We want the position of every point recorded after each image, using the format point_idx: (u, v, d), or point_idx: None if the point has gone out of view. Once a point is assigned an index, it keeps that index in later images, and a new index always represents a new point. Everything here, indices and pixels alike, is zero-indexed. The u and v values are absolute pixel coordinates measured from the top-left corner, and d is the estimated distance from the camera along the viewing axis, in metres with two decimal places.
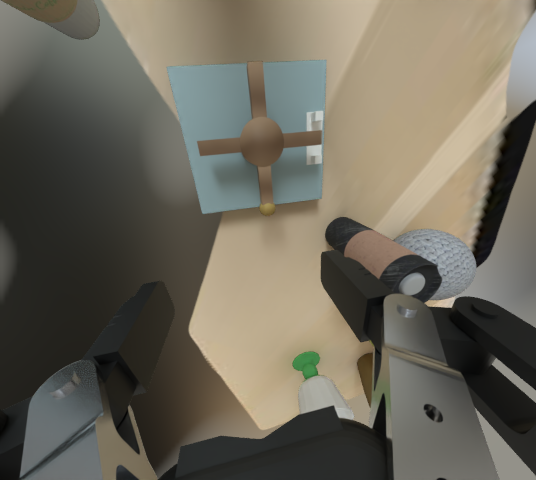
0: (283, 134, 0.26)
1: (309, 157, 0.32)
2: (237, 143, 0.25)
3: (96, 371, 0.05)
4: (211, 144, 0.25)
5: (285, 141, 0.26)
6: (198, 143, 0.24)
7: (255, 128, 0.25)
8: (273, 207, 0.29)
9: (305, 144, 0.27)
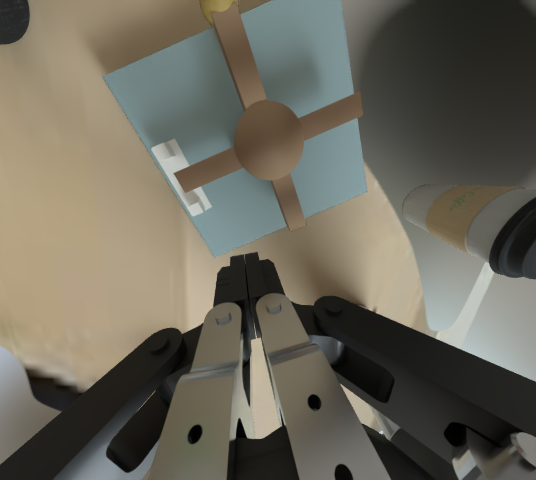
0: (241, 166, 0.16)
1: (176, 152, 0.19)
2: (306, 129, 0.16)
3: (241, 319, 0.06)
4: (343, 116, 0.16)
5: (234, 158, 0.16)
6: (361, 112, 0.16)
7: (284, 160, 0.17)
8: None
9: (200, 164, 0.16)
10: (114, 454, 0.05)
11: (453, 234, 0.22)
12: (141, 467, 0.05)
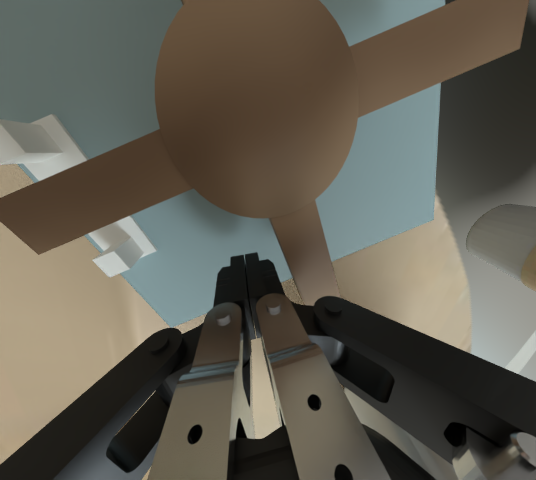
0: (188, 186, 0.06)
1: (63, 145, 0.09)
2: (368, 85, 0.06)
3: (241, 319, 0.06)
4: (470, 49, 0.06)
5: (164, 162, 0.06)
6: (517, 38, 0.06)
7: (303, 168, 0.06)
8: None
9: (63, 180, 0.05)
10: (114, 454, 0.05)
11: None
12: (141, 467, 0.05)
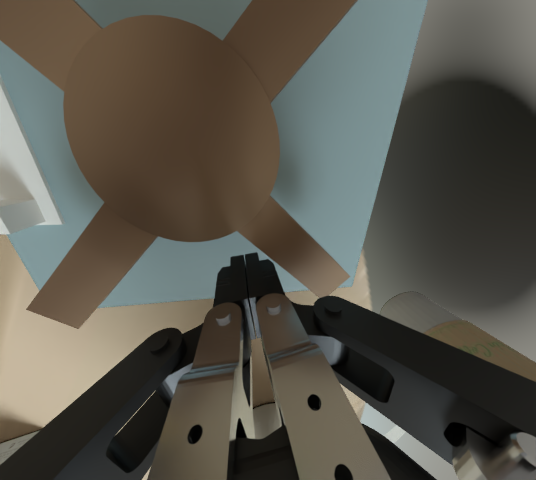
0: (152, 235, 0.07)
1: None
2: (264, 64, 0.05)
3: (241, 319, 0.06)
4: None
5: (124, 225, 0.06)
6: None
7: (241, 175, 0.06)
8: None
9: (63, 270, 0.07)
10: (114, 454, 0.05)
11: None
12: (141, 467, 0.05)
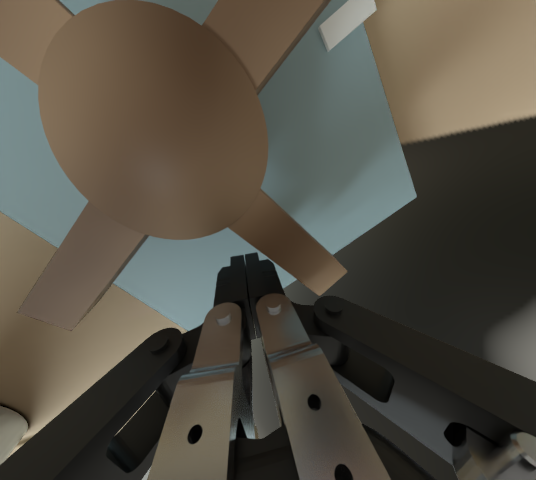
0: (140, 233, 0.07)
1: None
2: (247, 49, 0.05)
3: (241, 319, 0.06)
4: None
5: (110, 224, 0.06)
6: None
7: (229, 169, 0.06)
8: None
9: (51, 272, 0.07)
10: (114, 454, 0.05)
11: None
12: (141, 467, 0.05)
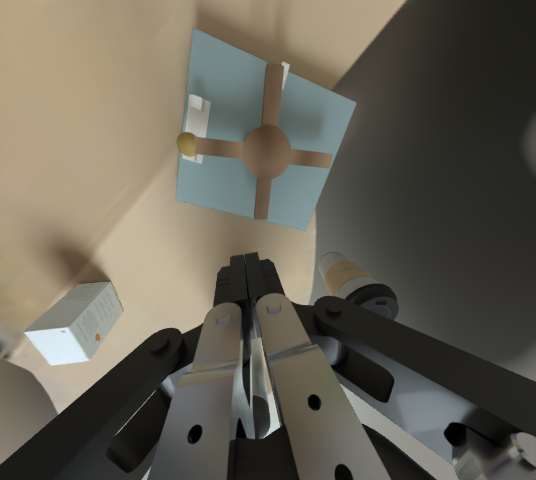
0: (270, 179, 0.24)
1: (205, 110, 0.24)
2: (271, 122, 0.22)
3: (241, 319, 0.06)
4: (277, 86, 0.20)
5: (264, 181, 0.24)
6: (281, 67, 0.20)
7: (281, 148, 0.23)
8: (189, 152, 0.22)
9: (257, 202, 0.25)
10: (114, 454, 0.05)
11: (333, 287, 0.33)
12: (141, 467, 0.05)
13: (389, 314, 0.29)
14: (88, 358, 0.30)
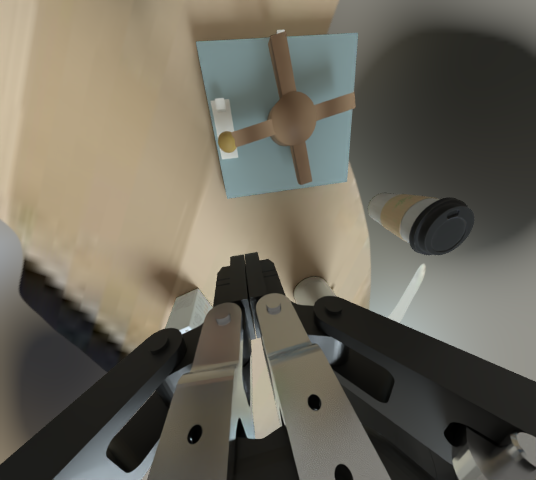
0: (304, 142, 0.26)
1: (227, 109, 0.27)
2: (290, 88, 0.23)
3: (241, 319, 0.06)
4: (284, 52, 0.22)
5: (299, 146, 0.26)
6: (283, 33, 0.21)
7: (305, 109, 0.24)
8: (231, 148, 0.25)
9: (299, 168, 0.27)
10: (114, 454, 0.05)
11: (394, 222, 0.33)
12: (141, 467, 0.05)
13: (465, 224, 0.28)
14: None
